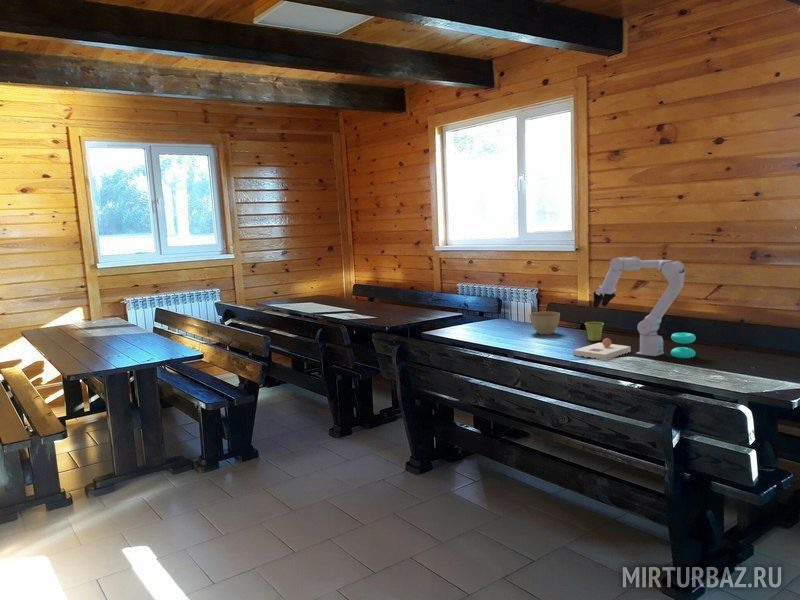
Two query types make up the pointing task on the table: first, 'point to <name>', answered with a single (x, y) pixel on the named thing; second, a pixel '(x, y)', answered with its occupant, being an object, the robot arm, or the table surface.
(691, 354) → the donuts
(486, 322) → the table surface
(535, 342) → the table surface
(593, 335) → the plant pot
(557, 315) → the planter bowl
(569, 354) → the table surface
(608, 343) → the ball
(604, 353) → the deck
